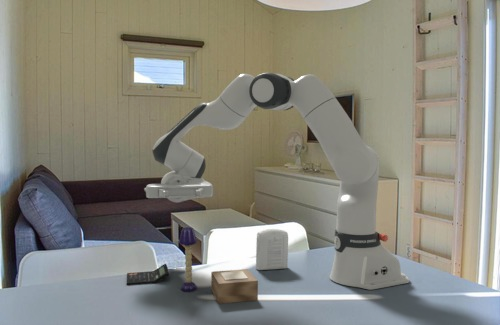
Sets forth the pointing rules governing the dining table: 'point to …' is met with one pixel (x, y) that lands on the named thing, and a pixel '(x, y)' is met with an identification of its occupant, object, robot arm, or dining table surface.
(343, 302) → the dining table surface
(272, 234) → the white upright block
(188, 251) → the toy lamp
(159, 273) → the calculator
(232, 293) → the cardboard box
